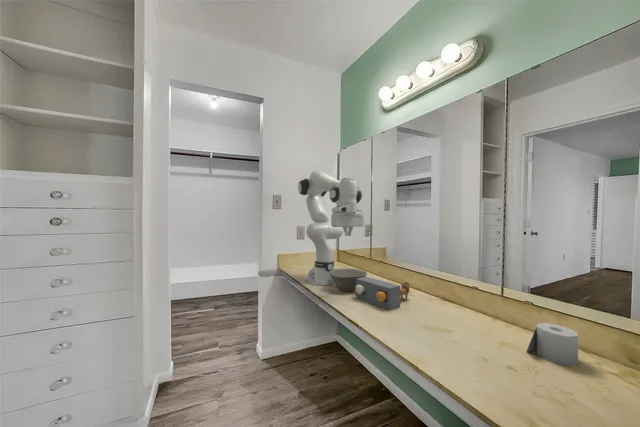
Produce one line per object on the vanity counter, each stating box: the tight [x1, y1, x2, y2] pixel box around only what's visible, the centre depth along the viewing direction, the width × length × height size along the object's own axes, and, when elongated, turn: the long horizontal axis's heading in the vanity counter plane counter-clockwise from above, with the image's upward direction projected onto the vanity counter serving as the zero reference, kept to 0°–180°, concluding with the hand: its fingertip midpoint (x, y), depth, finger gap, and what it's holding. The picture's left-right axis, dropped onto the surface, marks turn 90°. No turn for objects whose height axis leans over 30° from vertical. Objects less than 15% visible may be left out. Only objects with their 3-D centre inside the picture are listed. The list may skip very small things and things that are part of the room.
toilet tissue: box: [526, 322, 579, 367], centre depth 77 cm, size 9×13×9 cm
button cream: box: [354, 285, 365, 294], centre depth 130 cm, size 5×5×5 cm
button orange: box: [376, 291, 387, 302], centre depth 119 cm, size 5×5×5 cm
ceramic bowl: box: [329, 268, 368, 292], centre depth 148 cm, size 22×23×10 cm
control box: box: [355, 276, 401, 311], centre depth 126 cm, size 22×8×10 cm, turn 36°
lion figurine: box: [400, 280, 410, 304], centre depth 128 cm, size 15×5×9 cm, turn 136°
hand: (348, 235), depth 130 cm, fingers closed
